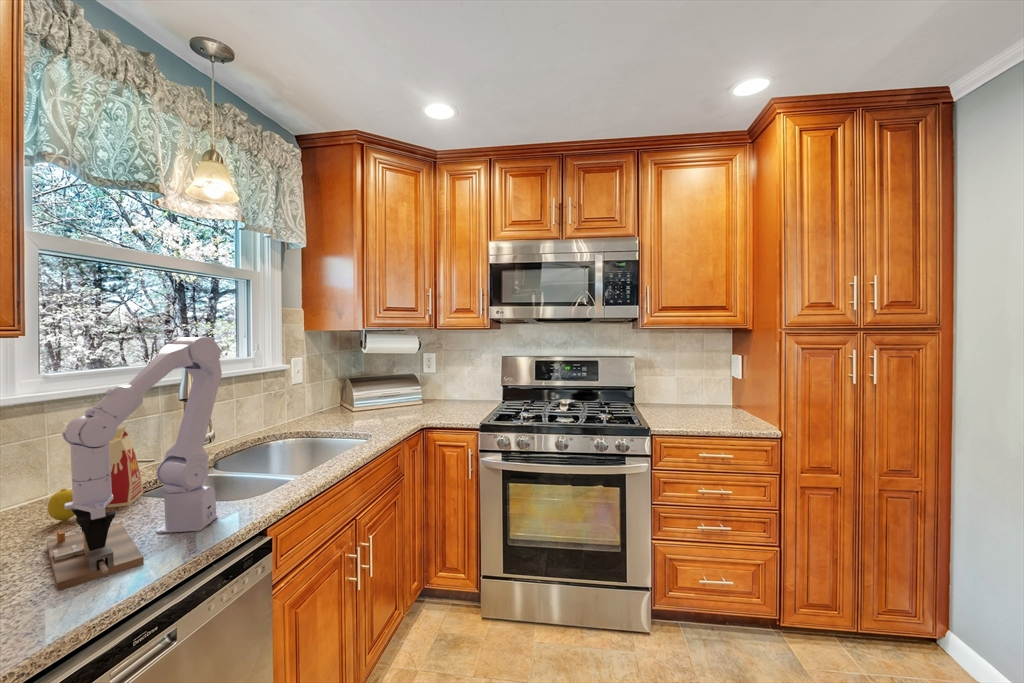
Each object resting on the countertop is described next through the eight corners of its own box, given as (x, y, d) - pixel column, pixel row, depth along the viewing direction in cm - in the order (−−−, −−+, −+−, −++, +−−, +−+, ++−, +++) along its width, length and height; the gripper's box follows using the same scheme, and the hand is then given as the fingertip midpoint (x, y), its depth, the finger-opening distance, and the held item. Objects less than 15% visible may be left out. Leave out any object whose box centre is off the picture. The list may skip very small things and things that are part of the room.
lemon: (60, 527, 106) (59, 493, 106) (42, 525, 108) (40, 492, 107) (87, 517, 112) (85, 485, 112) (69, 516, 113) (67, 484, 113)
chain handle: (53, 553, 90) (52, 527, 90) (101, 540, 96) (100, 516, 96) (62, 588, 78) (60, 558, 78) (116, 571, 84) (115, 543, 84)
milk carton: (143, 493, 128) (140, 422, 127) (131, 505, 120) (128, 429, 119) (101, 498, 124) (98, 425, 124) (86, 511, 116) (82, 432, 115)
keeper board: (47, 548, 97) (46, 528, 96) (121, 528, 105) (120, 511, 105) (57, 591, 81) (56, 568, 80) (143, 564, 90) (142, 543, 89)
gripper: (60, 474, 93) (63, 540, 93) (67, 491, 83) (70, 564, 83) (106, 465, 98) (108, 528, 98) (118, 480, 88) (121, 550, 89)
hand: (94, 544), depth 91 cm, fingers open, 6 cm apart
